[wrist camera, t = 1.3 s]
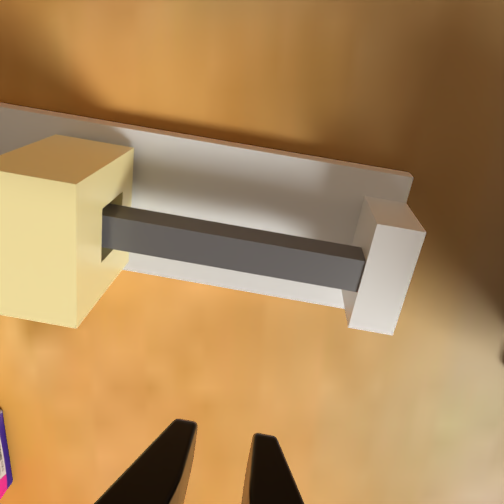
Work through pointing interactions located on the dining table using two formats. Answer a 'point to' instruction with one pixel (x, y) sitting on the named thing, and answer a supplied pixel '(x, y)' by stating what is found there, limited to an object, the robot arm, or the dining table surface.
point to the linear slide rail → (252, 216)
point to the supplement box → (4, 460)
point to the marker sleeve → (59, 226)
